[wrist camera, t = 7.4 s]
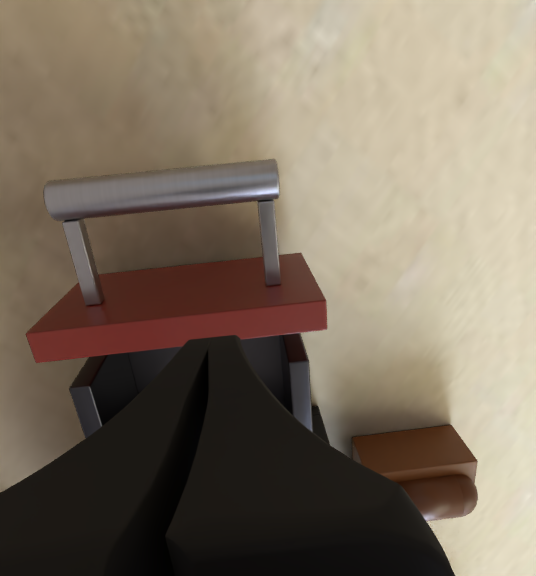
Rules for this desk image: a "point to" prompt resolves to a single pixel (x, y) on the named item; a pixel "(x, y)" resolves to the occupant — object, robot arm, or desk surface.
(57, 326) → the drawer
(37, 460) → the desk surface
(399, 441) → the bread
